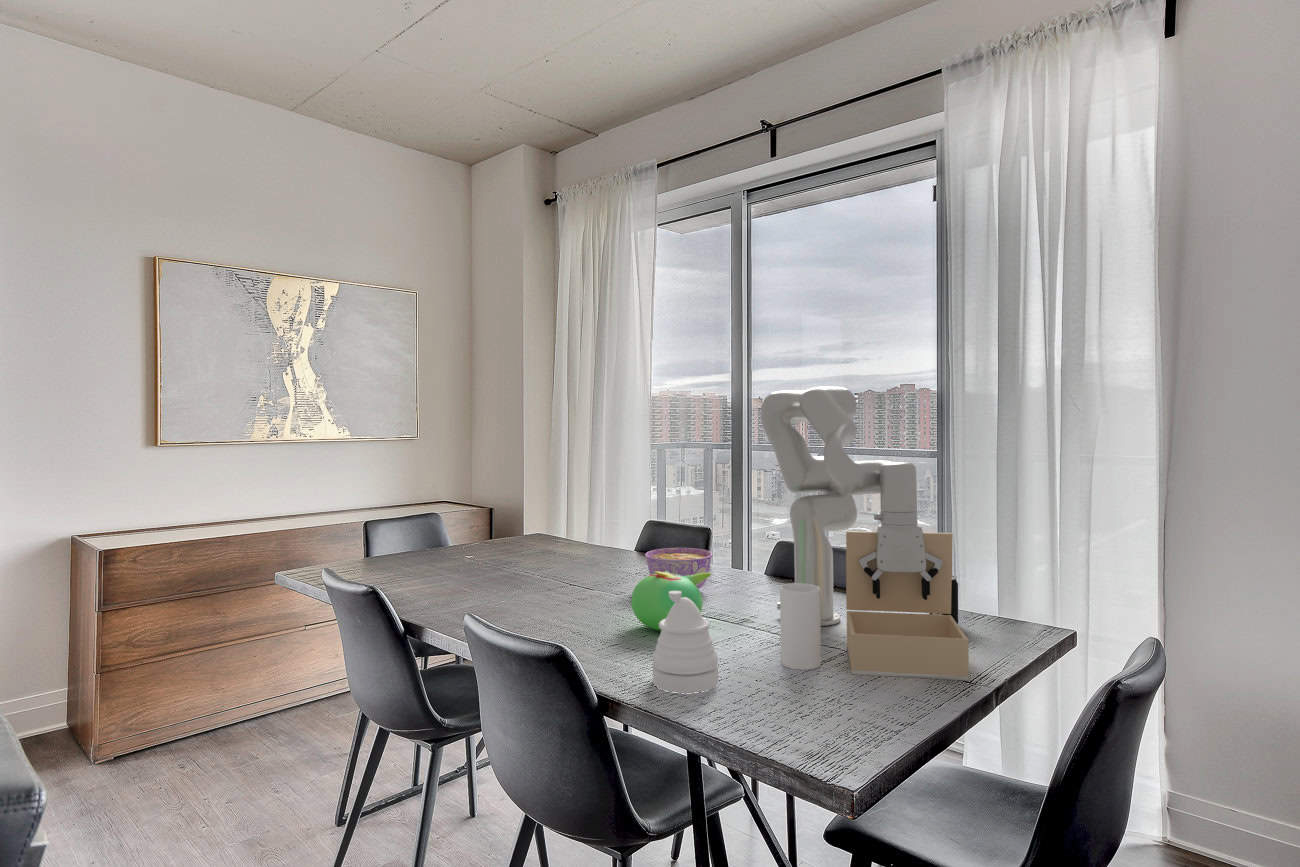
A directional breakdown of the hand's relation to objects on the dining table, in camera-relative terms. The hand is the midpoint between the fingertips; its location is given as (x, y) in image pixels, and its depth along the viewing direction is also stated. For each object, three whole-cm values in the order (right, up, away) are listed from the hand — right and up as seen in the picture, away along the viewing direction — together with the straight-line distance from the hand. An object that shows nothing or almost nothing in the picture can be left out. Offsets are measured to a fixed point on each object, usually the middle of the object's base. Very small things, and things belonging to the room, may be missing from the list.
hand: (901, 597), depth 160 cm
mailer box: (-2, -12, -6) cm, 14 cm away
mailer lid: (0, +6, +1) cm, 6 cm away
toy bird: (-50, -13, +21) cm, 56 cm away
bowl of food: (-46, -12, +59) cm, 76 cm away
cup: (-23, -13, -5) cm, 27 cm away
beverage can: (+17, -12, +21) cm, 29 cm away
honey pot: (-48, -13, -15) cm, 52 cm away
